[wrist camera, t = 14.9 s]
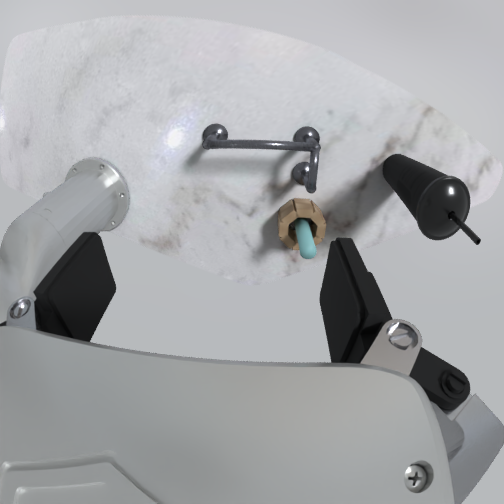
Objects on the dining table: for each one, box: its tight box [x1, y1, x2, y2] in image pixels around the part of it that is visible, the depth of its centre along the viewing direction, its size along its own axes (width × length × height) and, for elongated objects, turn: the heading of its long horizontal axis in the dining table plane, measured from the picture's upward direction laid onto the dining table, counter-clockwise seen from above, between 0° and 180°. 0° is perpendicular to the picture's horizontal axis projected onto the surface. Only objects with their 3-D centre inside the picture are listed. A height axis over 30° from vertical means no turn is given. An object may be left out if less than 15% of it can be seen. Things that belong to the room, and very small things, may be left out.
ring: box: [278, 198, 326, 250], centre depth 39 cm, size 6×6×4 cm
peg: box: [290, 217, 317, 259], centre depth 37 cm, size 3×3×9 cm
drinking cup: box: [383, 154, 481, 245], centre depth 27 cm, size 8×8×20 cm
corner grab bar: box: [202, 124, 321, 193], centre depth 33 cm, size 15×8×6 cm, turn 89°
